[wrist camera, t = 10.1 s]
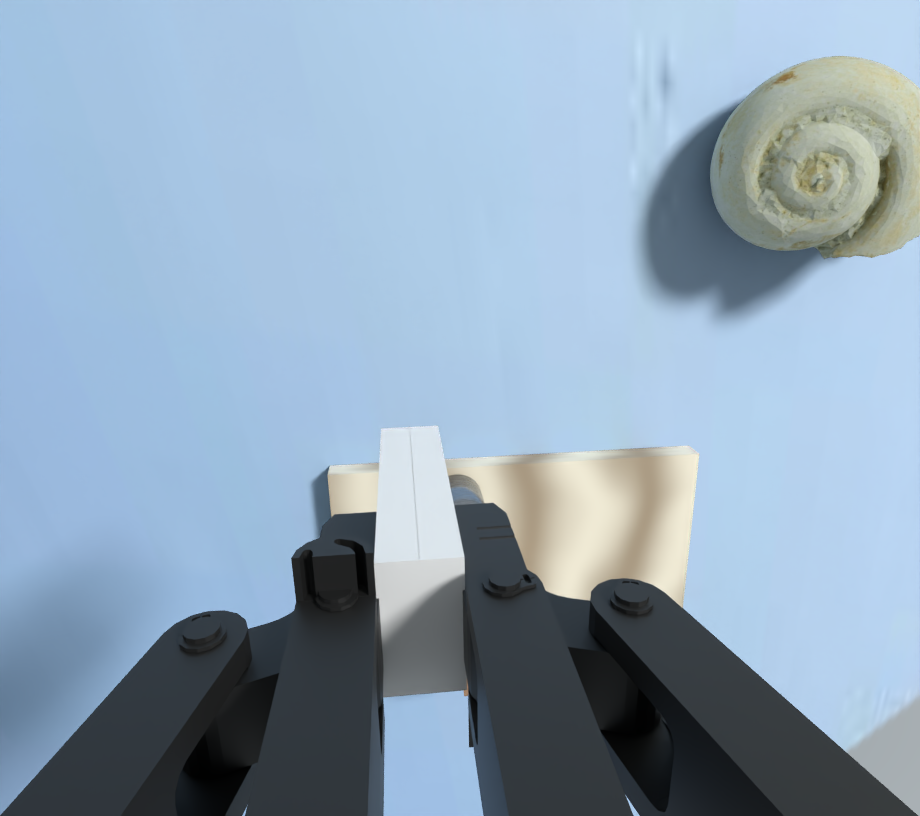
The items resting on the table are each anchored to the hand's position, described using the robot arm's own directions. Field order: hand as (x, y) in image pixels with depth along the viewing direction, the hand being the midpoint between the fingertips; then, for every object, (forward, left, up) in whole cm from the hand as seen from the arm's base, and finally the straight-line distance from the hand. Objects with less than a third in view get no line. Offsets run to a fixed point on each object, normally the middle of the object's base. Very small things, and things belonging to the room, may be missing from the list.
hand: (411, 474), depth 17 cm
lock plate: (+7, -16, -22) cm, 28 cm away
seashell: (+24, +9, -23) cm, 34 cm away
